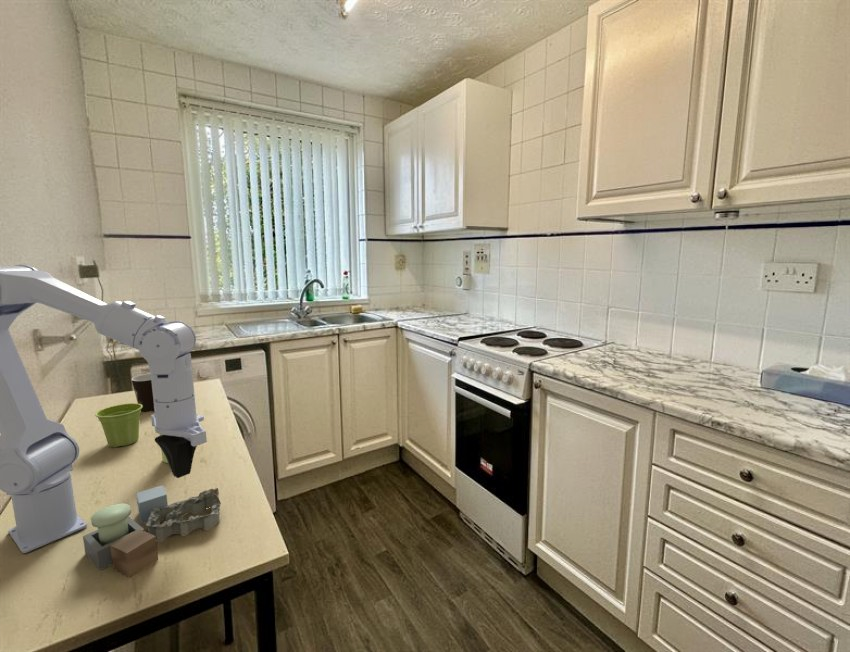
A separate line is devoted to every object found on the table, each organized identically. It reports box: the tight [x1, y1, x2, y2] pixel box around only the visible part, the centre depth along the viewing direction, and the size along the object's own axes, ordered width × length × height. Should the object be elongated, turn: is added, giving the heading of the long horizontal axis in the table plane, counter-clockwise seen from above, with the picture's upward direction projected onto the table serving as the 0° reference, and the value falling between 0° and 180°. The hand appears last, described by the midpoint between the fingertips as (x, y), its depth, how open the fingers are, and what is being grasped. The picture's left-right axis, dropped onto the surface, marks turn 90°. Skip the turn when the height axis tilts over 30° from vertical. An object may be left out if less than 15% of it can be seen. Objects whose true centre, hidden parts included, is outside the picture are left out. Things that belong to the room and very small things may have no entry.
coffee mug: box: [131, 373, 155, 413], centre depth 124 cm, size 12×9×10 cm
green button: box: [90, 503, 132, 546], centre depth 63 cm, size 5×5×4 cm
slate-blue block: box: [135, 484, 169, 525], centre depth 72 cm, size 4×4×4 cm
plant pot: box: [94, 402, 143, 448], centre depth 101 cm, size 9×9×9 cm
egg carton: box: [145, 487, 222, 543], centre depth 69 cm, size 11×8×4 cm
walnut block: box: [110, 529, 159, 579], centre depth 60 cm, size 4×4×4 cm
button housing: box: [82, 515, 145, 571], centre depth 63 cm, size 6×6×3 cm
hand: (182, 474), depth 68 cm, fingers closed
